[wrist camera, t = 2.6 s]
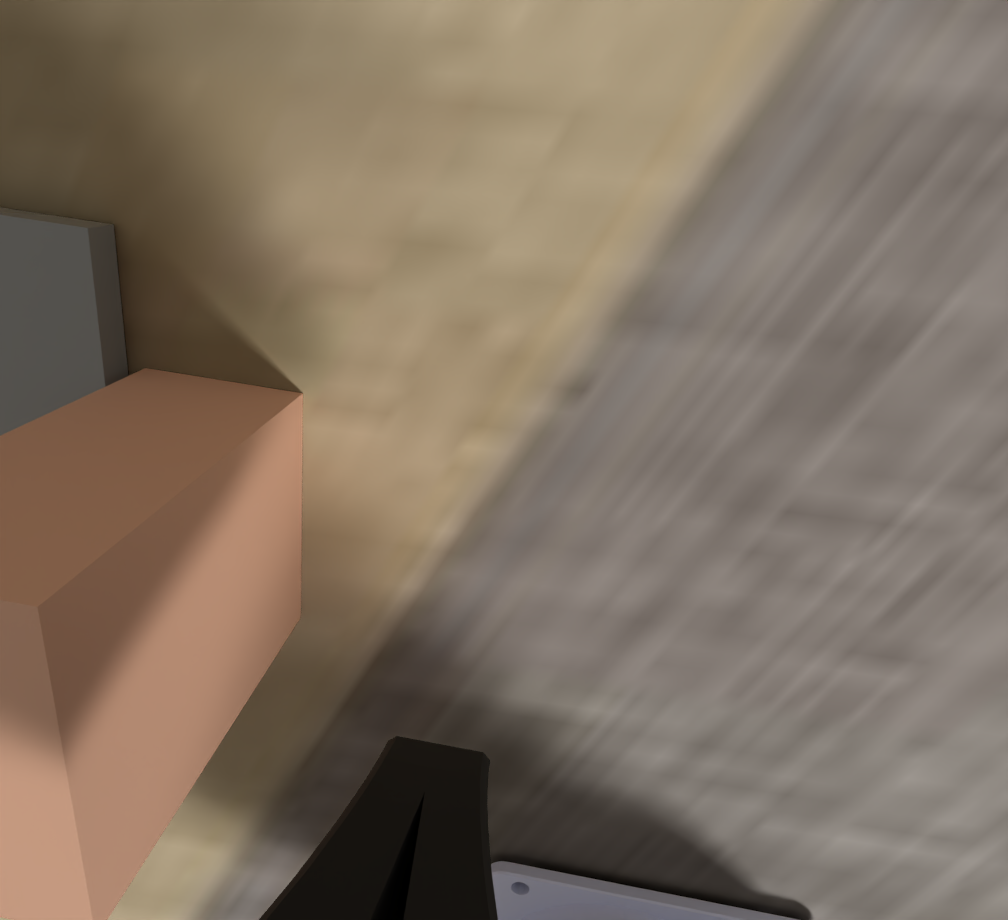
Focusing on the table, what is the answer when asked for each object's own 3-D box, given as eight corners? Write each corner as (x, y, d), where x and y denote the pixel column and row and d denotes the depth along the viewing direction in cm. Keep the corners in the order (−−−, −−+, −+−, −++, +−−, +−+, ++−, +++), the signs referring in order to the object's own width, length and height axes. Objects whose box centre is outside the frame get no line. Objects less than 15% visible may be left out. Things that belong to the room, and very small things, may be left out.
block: (303, 393, 15) (36, 606, 8) (300, 617, 18) (96, 936, 10) (145, 367, 16) (-254, 553, 8) (164, 592, 18) (-130, 890, 11)
